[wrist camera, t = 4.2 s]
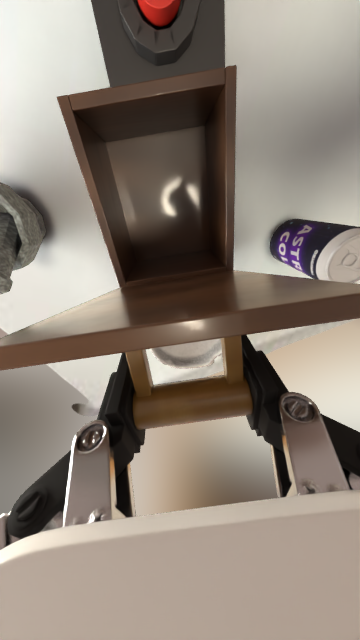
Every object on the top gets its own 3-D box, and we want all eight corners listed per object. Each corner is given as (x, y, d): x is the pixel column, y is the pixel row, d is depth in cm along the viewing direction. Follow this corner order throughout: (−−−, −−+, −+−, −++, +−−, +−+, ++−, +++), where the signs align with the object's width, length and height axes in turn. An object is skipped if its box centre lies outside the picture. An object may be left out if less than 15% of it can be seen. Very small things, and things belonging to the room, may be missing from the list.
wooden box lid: (-33, 351, 6) (34, 478, 7) (398, 287, 5) (370, 434, 7) (118, 287, 20) (129, 334, 22) (234, 270, 20) (237, 318, 22)
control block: (218, -60, 15) (231, -122, 12) (220, 84, 19) (230, 63, 16) (86, -34, 15) (67, -89, 13) (116, 102, 20) (107, 85, 17)
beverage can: (280, 212, 26) (352, 220, 16) (313, 224, 27) (401, 238, 17) (260, 253, 29) (310, 282, 19) (291, 263, 30) (355, 294, 20)
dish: (136, 333, 35) (132, 351, 31) (181, 275, 30) (183, 287, 26) (195, 364, 41) (199, 382, 36) (242, 319, 35) (252, 335, 31)
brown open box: (97, 136, 21) (56, 96, 13) (210, 116, 21) (237, 64, 13) (133, 265, 29) (120, 289, 21) (215, 252, 28) (233, 272, 21)
